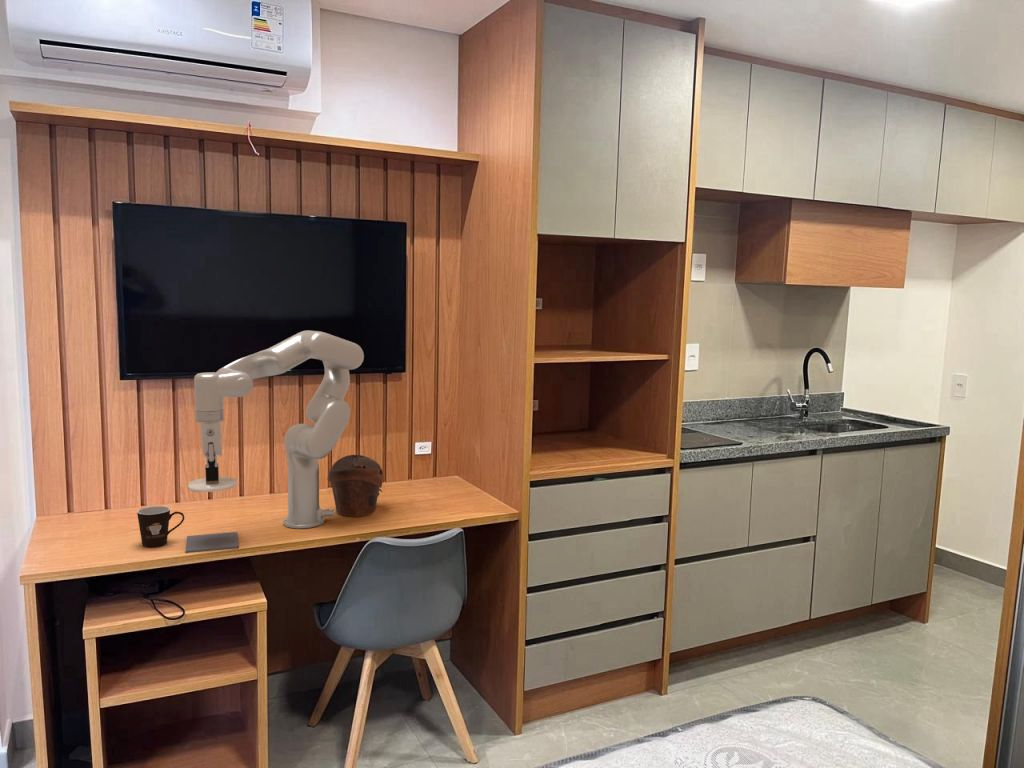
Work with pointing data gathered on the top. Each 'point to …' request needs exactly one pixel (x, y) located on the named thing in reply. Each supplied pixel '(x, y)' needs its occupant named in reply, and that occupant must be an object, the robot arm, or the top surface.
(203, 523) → the top surface
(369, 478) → the brown tapered piece
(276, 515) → the top surface
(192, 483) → the lid
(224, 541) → the mat
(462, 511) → the top surface
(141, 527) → the coffee mug
